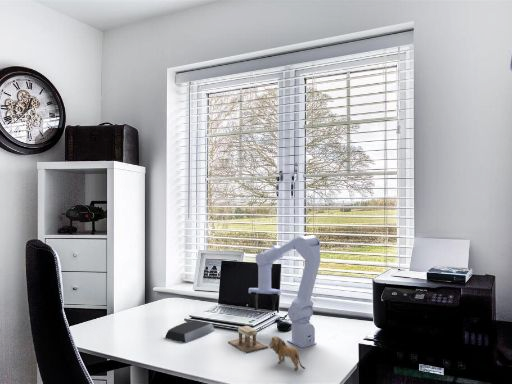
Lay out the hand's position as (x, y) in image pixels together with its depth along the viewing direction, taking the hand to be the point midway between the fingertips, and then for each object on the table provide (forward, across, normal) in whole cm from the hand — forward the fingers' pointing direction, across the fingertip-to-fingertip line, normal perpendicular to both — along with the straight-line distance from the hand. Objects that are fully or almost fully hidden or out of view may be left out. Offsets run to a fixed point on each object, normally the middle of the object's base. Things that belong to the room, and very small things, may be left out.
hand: (264, 310), depth 192 cm
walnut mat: (+9, -2, -19) cm, 22 cm away
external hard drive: (+10, -30, -12) cm, 34 cm away
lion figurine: (+10, +16, -35) cm, 40 cm away
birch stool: (+9, -2, -19) cm, 21 cm away
